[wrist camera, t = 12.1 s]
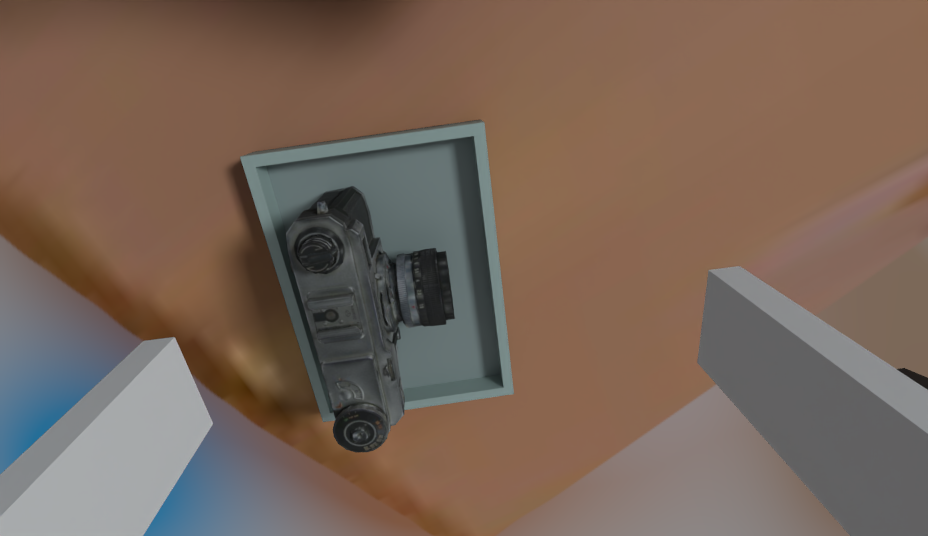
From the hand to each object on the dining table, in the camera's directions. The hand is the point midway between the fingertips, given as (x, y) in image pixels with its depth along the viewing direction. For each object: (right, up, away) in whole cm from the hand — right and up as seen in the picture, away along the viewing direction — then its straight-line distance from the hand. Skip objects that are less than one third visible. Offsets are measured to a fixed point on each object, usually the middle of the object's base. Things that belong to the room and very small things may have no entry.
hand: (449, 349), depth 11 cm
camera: (-5, +1, +25) cm, 26 cm away
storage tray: (-5, +1, +26) cm, 26 cm away
